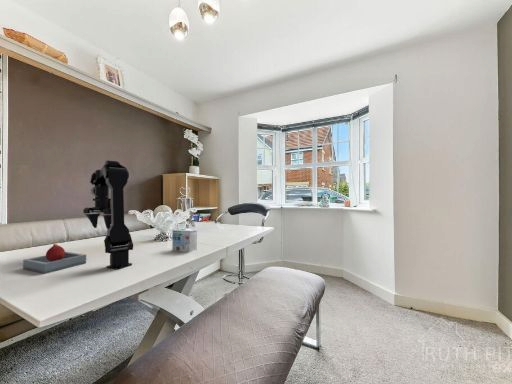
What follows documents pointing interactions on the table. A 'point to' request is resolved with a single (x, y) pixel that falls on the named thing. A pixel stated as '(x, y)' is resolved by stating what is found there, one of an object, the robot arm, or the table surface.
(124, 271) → the table surface
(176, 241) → the light bulb box
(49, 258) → the onion
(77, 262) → the tray
